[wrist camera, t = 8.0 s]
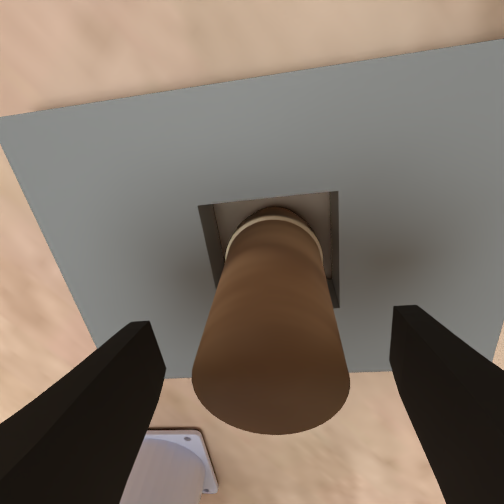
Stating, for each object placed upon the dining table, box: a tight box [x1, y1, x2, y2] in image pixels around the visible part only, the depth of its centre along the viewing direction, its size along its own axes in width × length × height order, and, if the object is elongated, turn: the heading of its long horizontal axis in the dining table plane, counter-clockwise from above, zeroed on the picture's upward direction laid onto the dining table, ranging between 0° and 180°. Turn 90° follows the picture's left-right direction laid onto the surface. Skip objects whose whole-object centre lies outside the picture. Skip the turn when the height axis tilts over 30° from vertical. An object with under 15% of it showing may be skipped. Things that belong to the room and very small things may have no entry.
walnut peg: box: [192, 207, 350, 435], centre depth 12 cm, size 4×4×9 cm
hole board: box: [0, 39, 504, 379], centre depth 15 cm, size 20×14×2 cm
